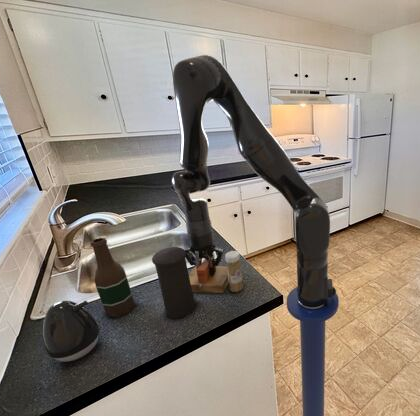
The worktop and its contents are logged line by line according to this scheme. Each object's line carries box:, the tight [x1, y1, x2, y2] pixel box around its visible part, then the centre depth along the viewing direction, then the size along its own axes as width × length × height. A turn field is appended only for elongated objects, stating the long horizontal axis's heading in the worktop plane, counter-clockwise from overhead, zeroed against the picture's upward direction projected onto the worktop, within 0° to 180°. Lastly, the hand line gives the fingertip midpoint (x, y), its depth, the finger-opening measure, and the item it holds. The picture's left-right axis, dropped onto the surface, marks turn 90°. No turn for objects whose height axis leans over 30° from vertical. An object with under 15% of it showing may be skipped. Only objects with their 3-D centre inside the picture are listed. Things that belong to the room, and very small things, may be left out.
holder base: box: [188, 265, 229, 294], centre depth 94 cm, size 14×13×3 cm
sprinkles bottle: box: [224, 250, 244, 293], centre depth 89 cm, size 5×5×14 cm
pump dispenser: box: [42, 299, 101, 363], centre depth 66 cm, size 10×10×15 cm
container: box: [151, 246, 196, 319], centre depth 79 cm, size 9×9×20 cm
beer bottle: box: [90, 237, 135, 318], centre depth 78 cm, size 8×8×24 cm
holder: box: [196, 257, 216, 283], centre depth 92 cm, size 9×3×5 cm, turn 178°
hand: (207, 274), depth 93 cm, fingers open, 3 cm apart
